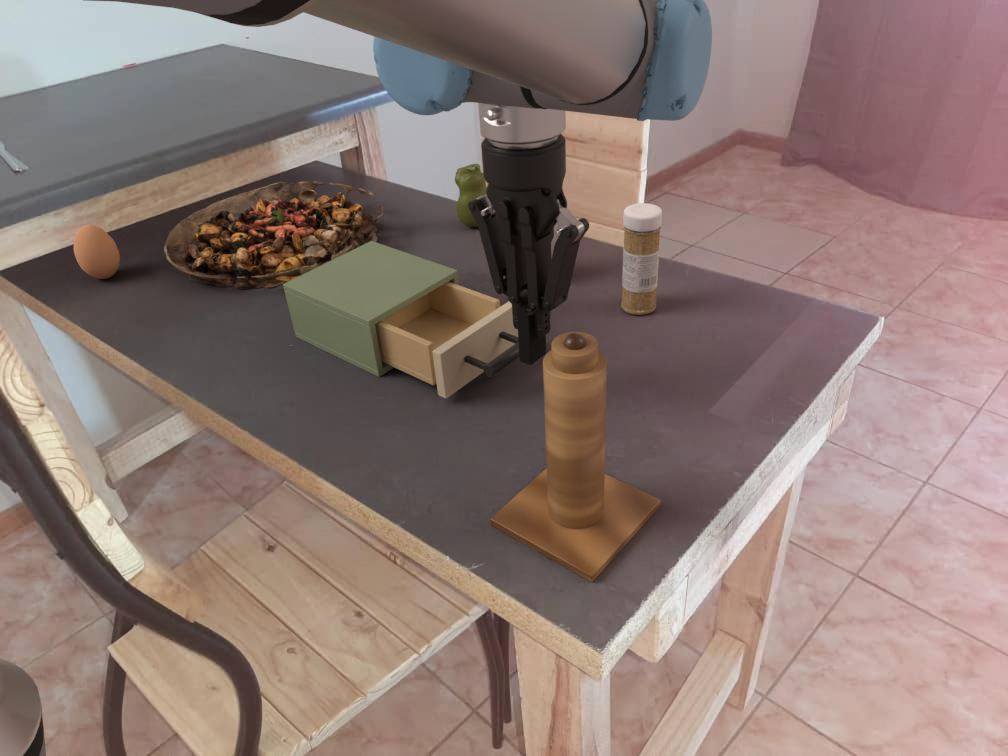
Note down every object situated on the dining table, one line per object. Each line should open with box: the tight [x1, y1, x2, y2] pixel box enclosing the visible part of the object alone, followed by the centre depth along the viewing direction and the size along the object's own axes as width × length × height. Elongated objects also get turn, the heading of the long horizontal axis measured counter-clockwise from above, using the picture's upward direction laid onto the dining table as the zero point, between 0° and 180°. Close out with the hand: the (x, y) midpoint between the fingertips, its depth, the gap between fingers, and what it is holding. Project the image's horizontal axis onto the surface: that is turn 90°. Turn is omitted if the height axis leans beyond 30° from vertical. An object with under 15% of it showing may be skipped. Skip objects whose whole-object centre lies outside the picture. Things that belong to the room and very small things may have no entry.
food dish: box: [163, 180, 384, 290], centre depth 120 cm, size 35×33×8 cm
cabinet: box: [282, 241, 460, 378], centre depth 97 cm, size 16×15×8 cm
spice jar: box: [620, 202, 663, 316], centre depth 96 cm, size 5×5×14 cm
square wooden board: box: [489, 467, 662, 583], centre depth 70 cm, size 11×11×1 cm
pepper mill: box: [542, 331, 608, 529], centre depth 64 cm, size 5×5×18 cm
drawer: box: [375, 282, 519, 400], centre depth 90 cm, size 19×13×6 cm
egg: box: [73, 224, 121, 280], centre depth 114 cm, size 6×6×8 cm
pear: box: [454, 163, 487, 228], centre depth 121 cm, size 6×5×10 cm
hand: (533, 357), depth 82 cm, fingers closed
